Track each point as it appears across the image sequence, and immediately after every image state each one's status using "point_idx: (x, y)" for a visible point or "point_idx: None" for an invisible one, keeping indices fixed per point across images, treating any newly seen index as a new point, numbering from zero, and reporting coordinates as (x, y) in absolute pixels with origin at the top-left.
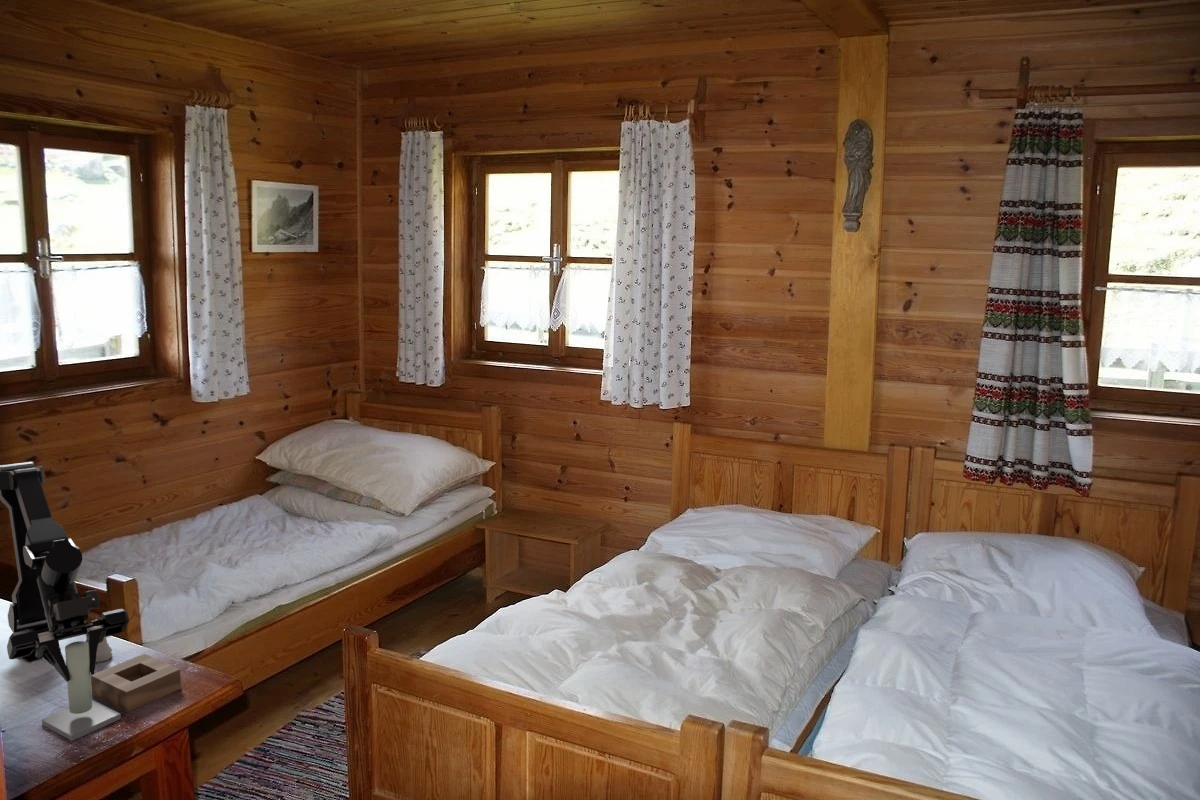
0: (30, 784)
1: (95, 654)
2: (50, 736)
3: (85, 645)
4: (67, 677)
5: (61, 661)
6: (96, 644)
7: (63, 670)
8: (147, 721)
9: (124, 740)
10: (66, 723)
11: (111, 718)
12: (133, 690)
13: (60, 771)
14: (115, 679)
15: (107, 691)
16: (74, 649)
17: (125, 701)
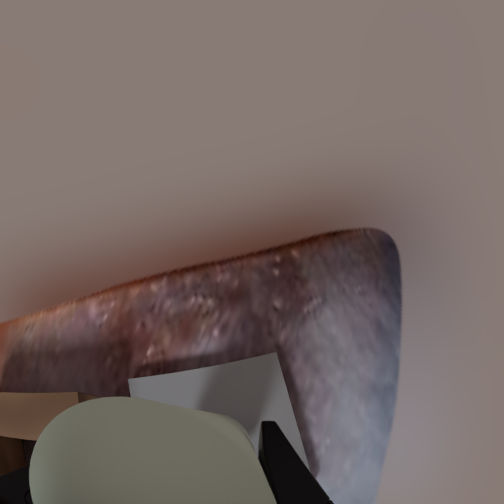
0: (378, 235)
1: None
2: (312, 414)
3: (60, 449)
4: (273, 426)
5: (302, 500)
6: (5, 482)
7: (291, 457)
8: (98, 319)
9: (175, 274)
10: None
11: (155, 376)
12: (59, 393)
13: (326, 242)
14: None
15: None
16: (193, 449)
17: None
